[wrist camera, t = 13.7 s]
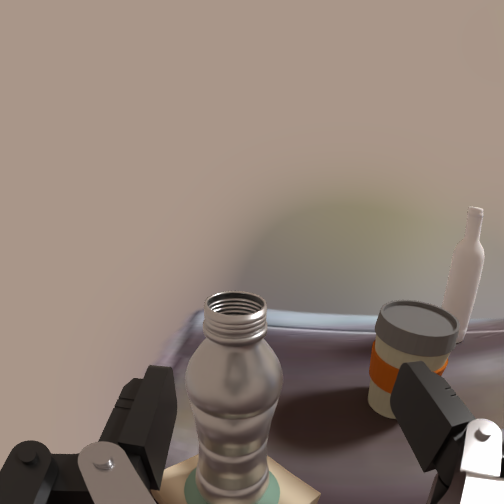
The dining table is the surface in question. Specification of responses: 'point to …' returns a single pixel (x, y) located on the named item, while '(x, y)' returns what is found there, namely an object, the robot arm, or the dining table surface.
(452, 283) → the bottle
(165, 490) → the base block
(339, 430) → the dining table surface
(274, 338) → the dining table surface
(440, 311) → the reusable coffee cup
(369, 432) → the dining table surface
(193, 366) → the plastic bottle
